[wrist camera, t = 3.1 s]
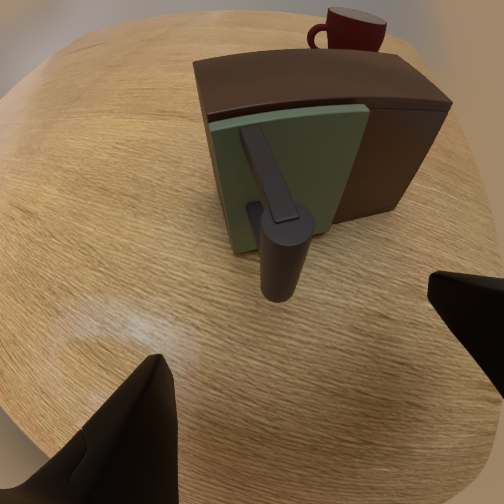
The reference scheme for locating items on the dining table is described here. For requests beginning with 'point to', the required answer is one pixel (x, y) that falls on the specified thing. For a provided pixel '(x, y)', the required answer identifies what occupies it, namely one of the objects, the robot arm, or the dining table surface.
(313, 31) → the mug
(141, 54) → the dining table surface
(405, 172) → the cabinet
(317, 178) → the door
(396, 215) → the dining table surface
